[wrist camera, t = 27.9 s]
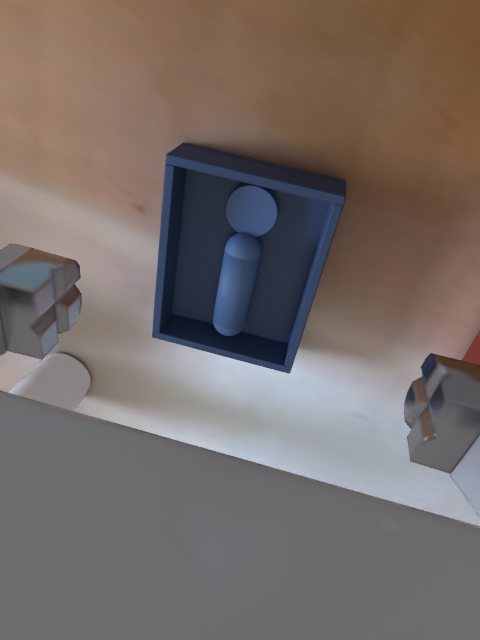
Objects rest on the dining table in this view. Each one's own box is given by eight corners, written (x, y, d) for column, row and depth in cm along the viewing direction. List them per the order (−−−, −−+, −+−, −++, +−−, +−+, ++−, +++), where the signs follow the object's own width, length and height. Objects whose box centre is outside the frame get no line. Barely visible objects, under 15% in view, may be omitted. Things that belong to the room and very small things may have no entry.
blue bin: (182, 142, 30) (165, 153, 27) (345, 180, 29) (346, 197, 26) (166, 314, 38) (151, 337, 35) (293, 347, 37) (289, 374, 34)
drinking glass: (53, 331, 41) (-70, 458, 29) (112, 374, 43) (19, 512, 31) (25, 369, 45) (-95, 496, 33) (80, 407, 46) (-14, 543, 34)
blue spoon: (209, 318, 37) (201, 336, 34) (232, 175, 30) (224, 186, 28) (251, 329, 36) (245, 348, 34) (284, 188, 30) (280, 200, 27)
